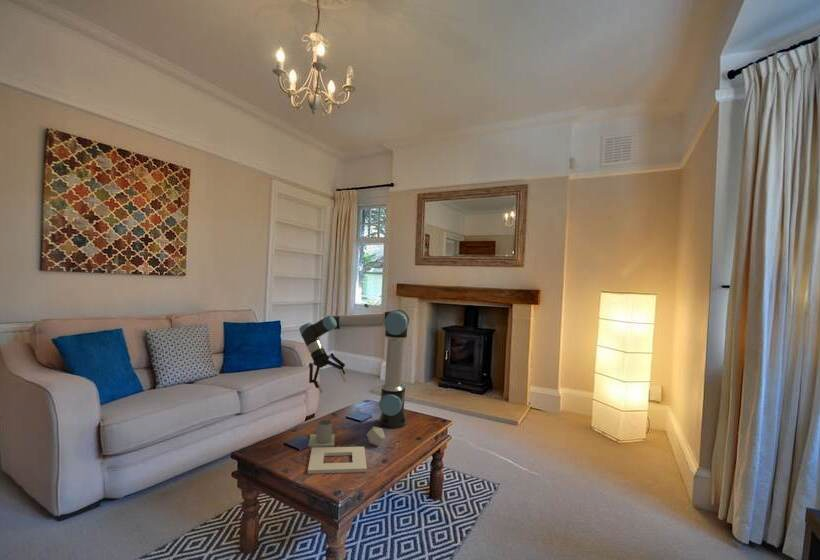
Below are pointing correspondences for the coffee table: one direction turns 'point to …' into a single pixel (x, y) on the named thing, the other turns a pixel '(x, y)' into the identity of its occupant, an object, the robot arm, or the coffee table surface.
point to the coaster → (315, 444)
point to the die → (376, 436)
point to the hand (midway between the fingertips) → (333, 386)
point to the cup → (324, 431)
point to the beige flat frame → (320, 467)
